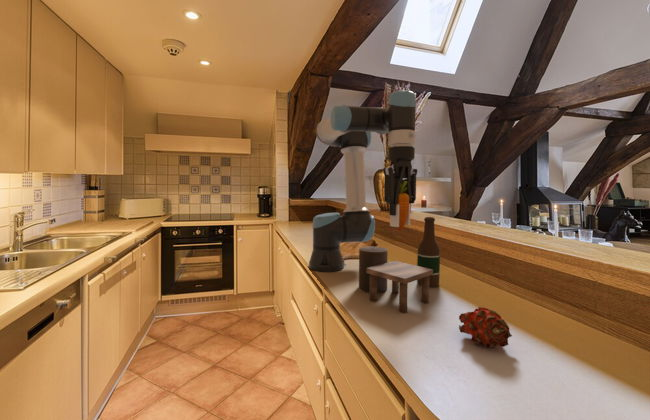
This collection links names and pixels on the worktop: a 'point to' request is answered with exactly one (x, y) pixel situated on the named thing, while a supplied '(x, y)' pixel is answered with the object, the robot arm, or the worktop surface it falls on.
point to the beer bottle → (429, 253)
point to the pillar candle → (369, 259)
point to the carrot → (403, 206)
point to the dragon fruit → (485, 327)
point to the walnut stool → (400, 280)
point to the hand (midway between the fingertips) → (400, 225)
